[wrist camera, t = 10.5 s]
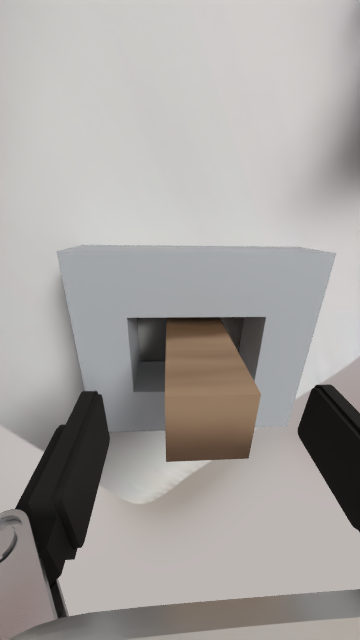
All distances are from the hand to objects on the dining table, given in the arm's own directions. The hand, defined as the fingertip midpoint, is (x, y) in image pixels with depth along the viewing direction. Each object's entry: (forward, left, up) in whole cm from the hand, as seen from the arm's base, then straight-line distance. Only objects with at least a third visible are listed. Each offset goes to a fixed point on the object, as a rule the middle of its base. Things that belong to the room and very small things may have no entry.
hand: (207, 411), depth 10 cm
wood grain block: (+1, 0, -10) cm, 10 cm away
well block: (+1, 0, -10) cm, 10 cm away
